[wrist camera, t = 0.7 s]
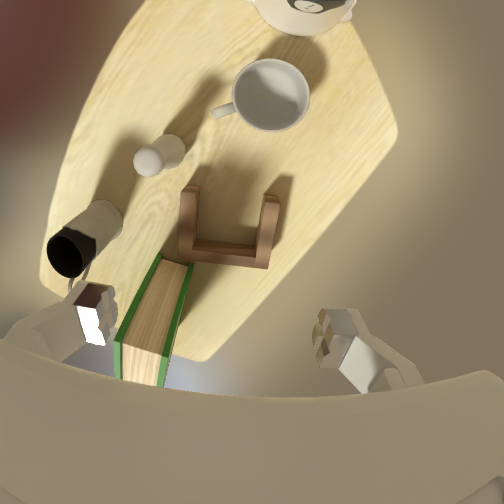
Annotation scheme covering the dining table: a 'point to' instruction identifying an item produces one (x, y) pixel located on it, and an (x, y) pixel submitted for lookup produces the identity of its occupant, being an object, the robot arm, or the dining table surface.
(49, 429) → the robot arm
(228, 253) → the walnut holder
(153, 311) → the hardback book
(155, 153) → the salt shaker
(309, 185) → the dining table surface
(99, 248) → the tall mug
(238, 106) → the teacup
